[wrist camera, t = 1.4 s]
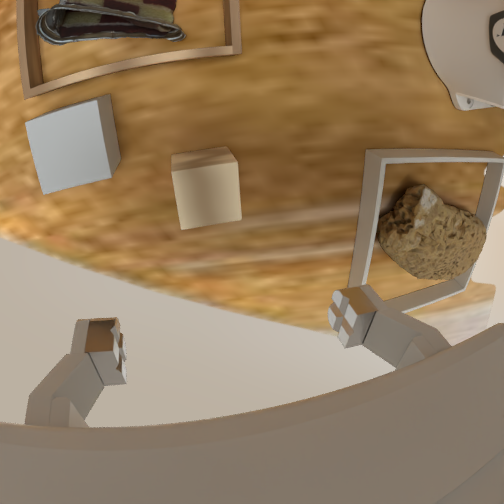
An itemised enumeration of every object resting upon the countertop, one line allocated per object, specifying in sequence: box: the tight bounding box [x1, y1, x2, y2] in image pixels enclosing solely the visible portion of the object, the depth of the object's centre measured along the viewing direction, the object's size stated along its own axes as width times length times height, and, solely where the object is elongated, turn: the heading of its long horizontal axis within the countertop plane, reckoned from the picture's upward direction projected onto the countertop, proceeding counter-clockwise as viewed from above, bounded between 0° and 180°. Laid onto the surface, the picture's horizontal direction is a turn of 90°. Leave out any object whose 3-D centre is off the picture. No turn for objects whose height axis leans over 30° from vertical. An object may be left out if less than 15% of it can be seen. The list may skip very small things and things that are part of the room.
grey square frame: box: [348, 149, 504, 313], centre depth 38 cm, size 24×24×3 cm
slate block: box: [25, 94, 121, 195], centre depth 21 cm, size 6×6×5 cm
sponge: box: [377, 184, 486, 280], centre depth 36 cm, size 13×8×20 cm
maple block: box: [171, 146, 242, 230], centre depth 26 cm, size 5×5×5 cm
